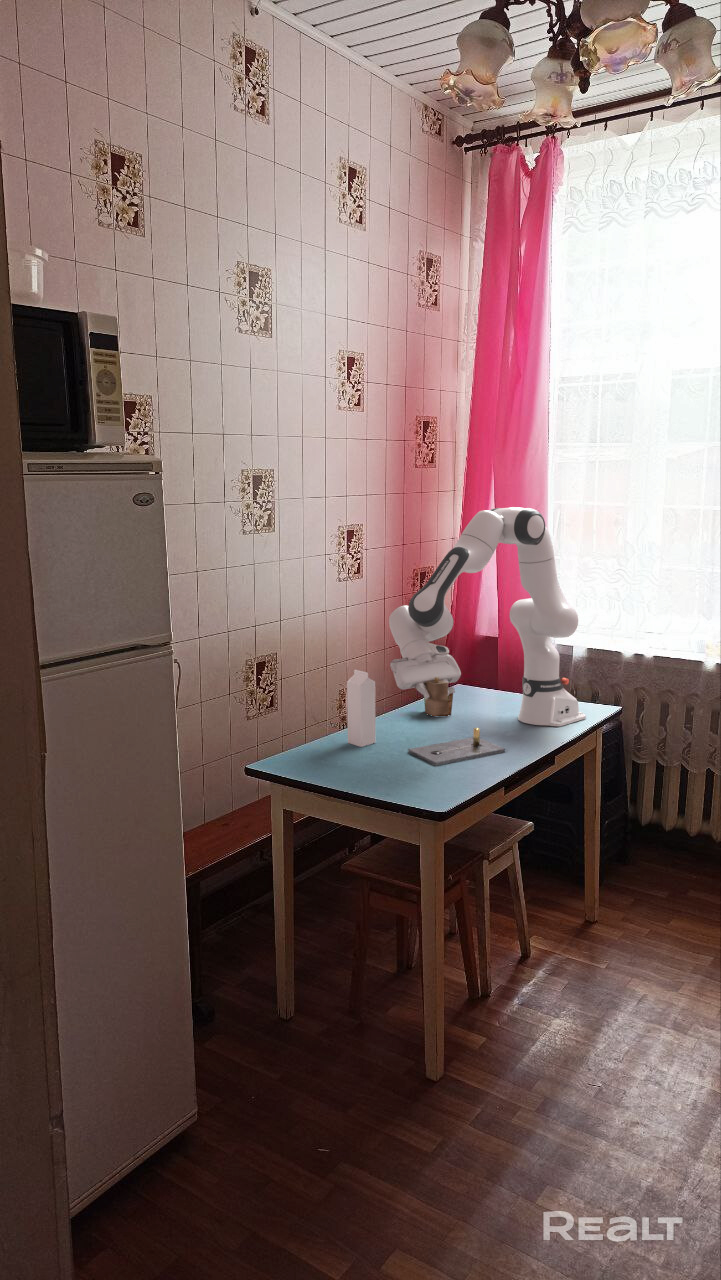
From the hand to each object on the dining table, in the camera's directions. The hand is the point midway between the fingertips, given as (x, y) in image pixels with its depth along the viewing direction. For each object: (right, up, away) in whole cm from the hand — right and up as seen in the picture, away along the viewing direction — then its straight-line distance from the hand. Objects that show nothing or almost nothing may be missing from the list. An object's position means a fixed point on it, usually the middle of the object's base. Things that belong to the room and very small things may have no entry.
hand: (437, 696), depth 251 cm
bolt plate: (+6, -16, +7) cm, 19 cm away
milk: (-21, -15, +17) cm, 31 cm away
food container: (+3, -9, +47) cm, 48 cm away
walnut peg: (0, -5, +2) cm, 5 cm away
